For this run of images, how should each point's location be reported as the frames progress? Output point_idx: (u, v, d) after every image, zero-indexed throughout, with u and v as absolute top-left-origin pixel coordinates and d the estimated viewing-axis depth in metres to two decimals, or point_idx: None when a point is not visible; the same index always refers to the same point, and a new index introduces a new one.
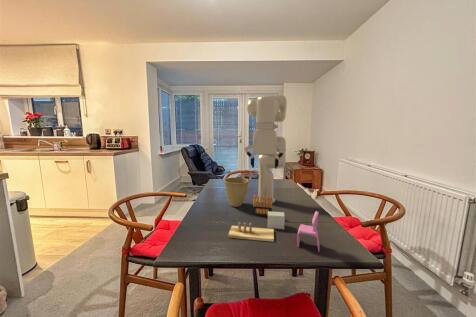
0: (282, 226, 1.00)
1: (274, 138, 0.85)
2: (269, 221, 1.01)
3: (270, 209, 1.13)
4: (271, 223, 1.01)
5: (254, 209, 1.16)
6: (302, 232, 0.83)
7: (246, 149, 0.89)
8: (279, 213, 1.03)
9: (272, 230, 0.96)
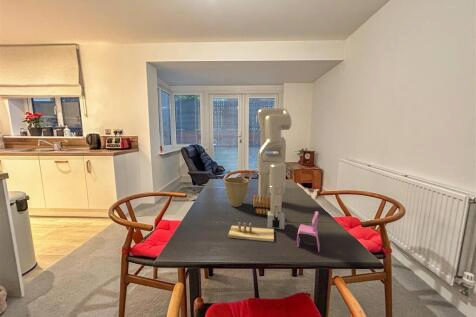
0: (282, 226, 1.00)
1: None
2: (269, 221, 1.01)
3: None
4: (271, 223, 1.01)
5: (254, 209, 1.16)
6: (302, 232, 0.83)
7: (277, 216, 0.96)
8: None
9: (272, 230, 0.96)
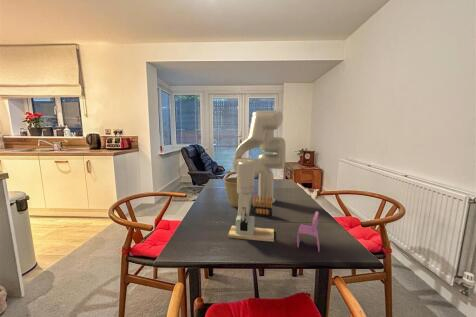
0: (251, 231, 0.92)
1: None
2: (237, 226, 0.93)
3: (270, 209, 1.13)
4: None
5: (254, 209, 1.16)
6: (302, 232, 0.83)
7: (244, 216, 0.86)
8: (249, 217, 0.95)
9: (272, 230, 0.96)
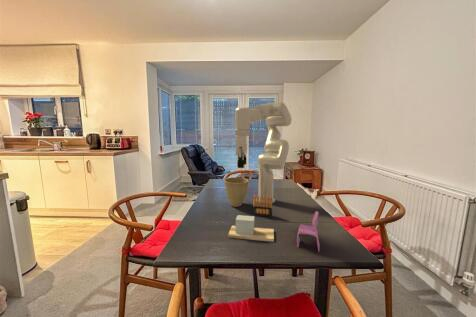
0: (251, 231, 0.92)
1: None
2: (237, 226, 0.93)
3: (270, 209, 1.13)
4: (240, 228, 0.93)
5: (254, 209, 1.16)
6: (302, 232, 0.83)
7: (241, 153, 1.00)
8: (249, 217, 0.95)
9: (272, 230, 0.96)
